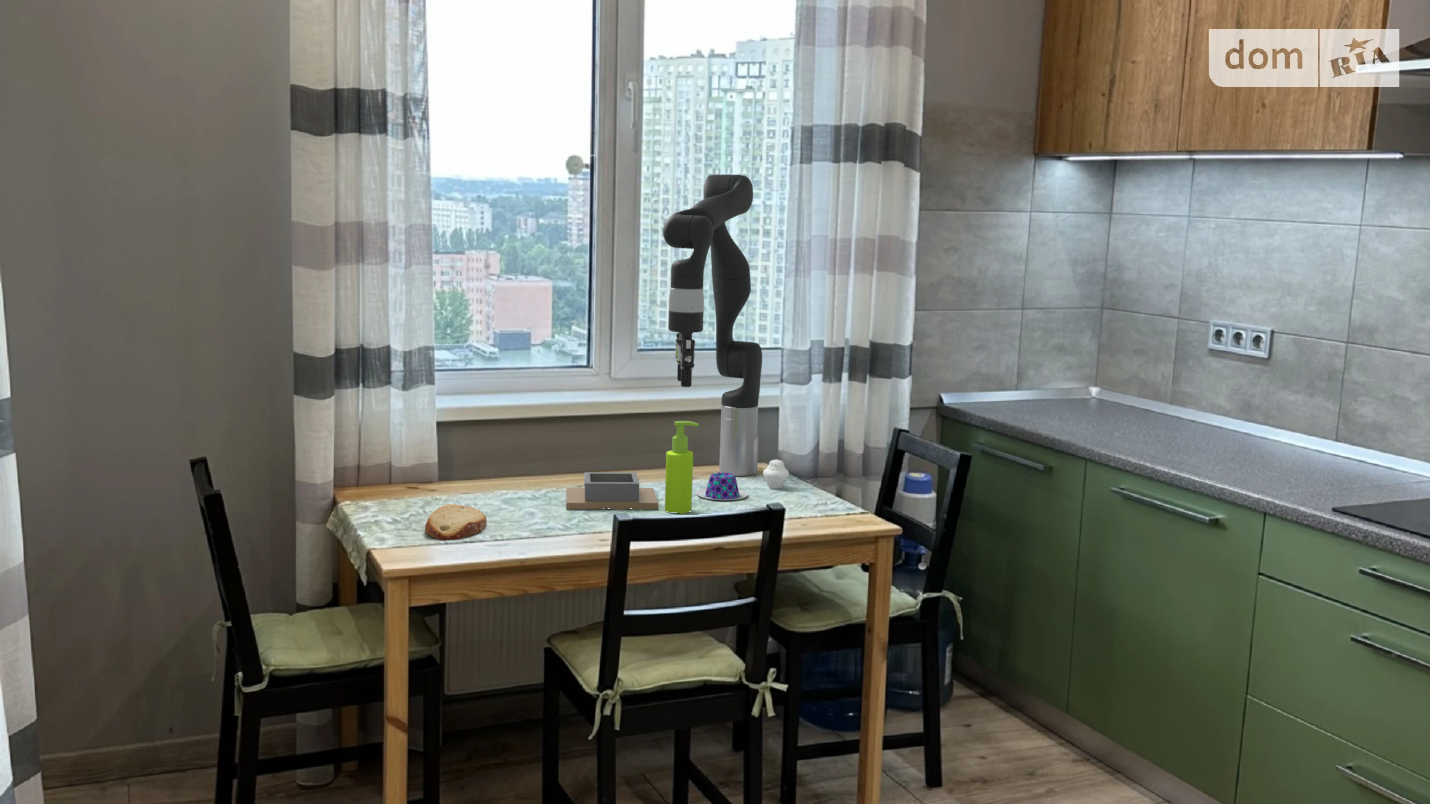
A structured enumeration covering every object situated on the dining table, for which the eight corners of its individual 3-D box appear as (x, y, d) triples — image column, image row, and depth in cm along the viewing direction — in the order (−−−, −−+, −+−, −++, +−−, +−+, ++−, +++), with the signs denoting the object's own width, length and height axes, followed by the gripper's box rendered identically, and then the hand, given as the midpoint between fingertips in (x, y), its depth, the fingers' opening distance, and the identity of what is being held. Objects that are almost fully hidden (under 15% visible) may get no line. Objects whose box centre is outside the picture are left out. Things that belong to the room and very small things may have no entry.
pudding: (686, 498, 285) (687, 476, 284) (711, 488, 295) (712, 466, 294) (732, 505, 279) (733, 483, 278) (756, 495, 289) (757, 473, 289)
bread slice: (459, 511, 267) (459, 494, 266) (515, 527, 255) (515, 510, 255) (389, 527, 253) (389, 509, 252) (444, 544, 242) (444, 526, 241)
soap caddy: (653, 494, 286) (653, 471, 285) (657, 509, 272) (658, 485, 271) (566, 494, 283) (566, 470, 282) (566, 509, 270) (566, 485, 269)
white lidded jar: (788, 485, 299) (790, 457, 298) (787, 491, 293) (789, 462, 292) (763, 483, 300) (764, 455, 299) (761, 489, 294) (762, 461, 293)
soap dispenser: (695, 514, 269) (698, 424, 266) (664, 513, 269) (666, 423, 266) (696, 508, 275) (699, 419, 271) (665, 506, 275) (668, 418, 271)
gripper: (707, 312, 258) (704, 389, 261) (700, 306, 272) (697, 379, 275) (671, 312, 257) (669, 388, 260) (666, 305, 271) (664, 378, 274)
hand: (684, 383), depth 267 cm, fingers open, 8 cm apart
